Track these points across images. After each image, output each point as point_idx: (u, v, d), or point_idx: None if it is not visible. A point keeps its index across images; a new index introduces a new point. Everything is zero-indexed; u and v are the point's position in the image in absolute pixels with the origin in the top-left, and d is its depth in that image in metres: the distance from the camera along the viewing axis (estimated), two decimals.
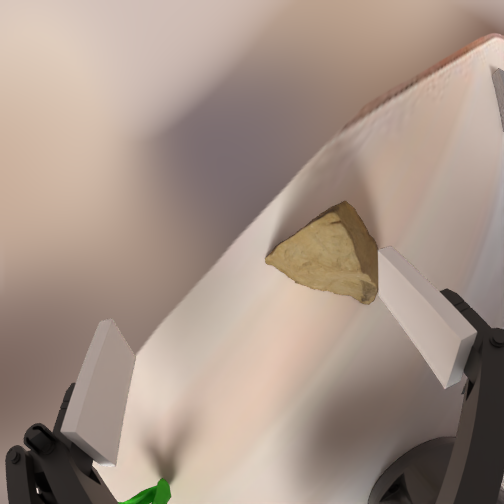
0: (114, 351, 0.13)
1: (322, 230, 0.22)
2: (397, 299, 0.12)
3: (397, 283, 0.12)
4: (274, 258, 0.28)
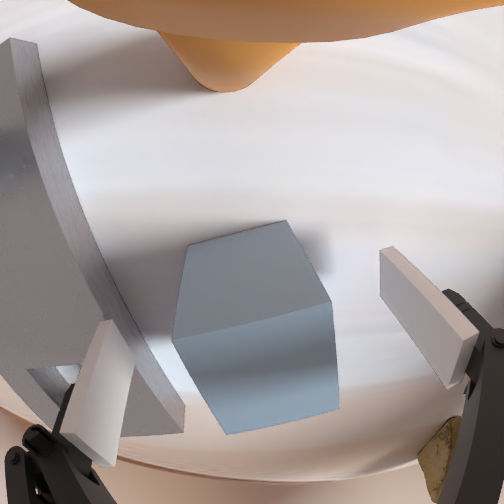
0: (114, 352, 0.13)
1: None
2: (399, 299, 0.12)
3: (399, 283, 0.12)
4: None
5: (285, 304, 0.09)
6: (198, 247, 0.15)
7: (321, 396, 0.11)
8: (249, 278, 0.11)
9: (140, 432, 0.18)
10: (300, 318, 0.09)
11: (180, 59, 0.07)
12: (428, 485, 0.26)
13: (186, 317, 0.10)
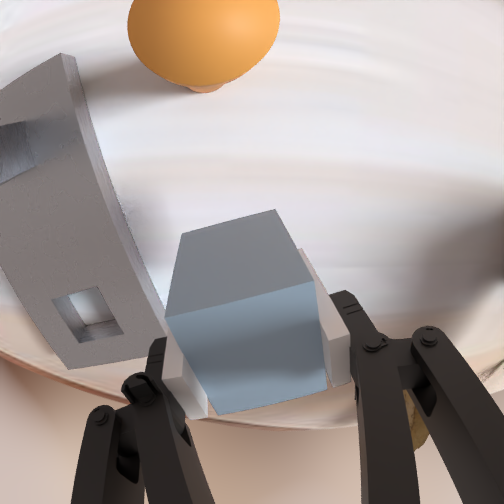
0: None
1: None
2: None
3: None
4: None
5: (270, 283, 0.10)
6: (191, 235, 0.15)
7: (308, 376, 0.12)
8: (238, 261, 0.12)
9: (139, 353, 0.25)
10: (285, 297, 0.10)
11: None
12: None
13: (179, 297, 0.11)
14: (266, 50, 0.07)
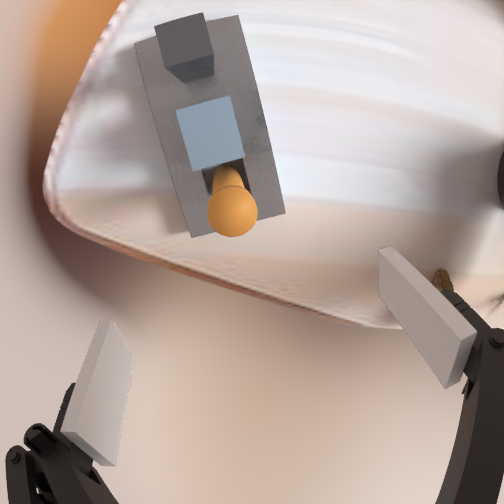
0: (114, 352, 0.13)
1: None
2: (397, 299, 0.12)
3: (398, 283, 0.12)
4: None
5: (214, 99, 0.26)
6: None
7: (234, 145, 0.27)
8: None
9: (259, 215, 0.38)
10: (219, 101, 0.25)
11: None
12: None
13: None
14: (253, 224, 0.27)
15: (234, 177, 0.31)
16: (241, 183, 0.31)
